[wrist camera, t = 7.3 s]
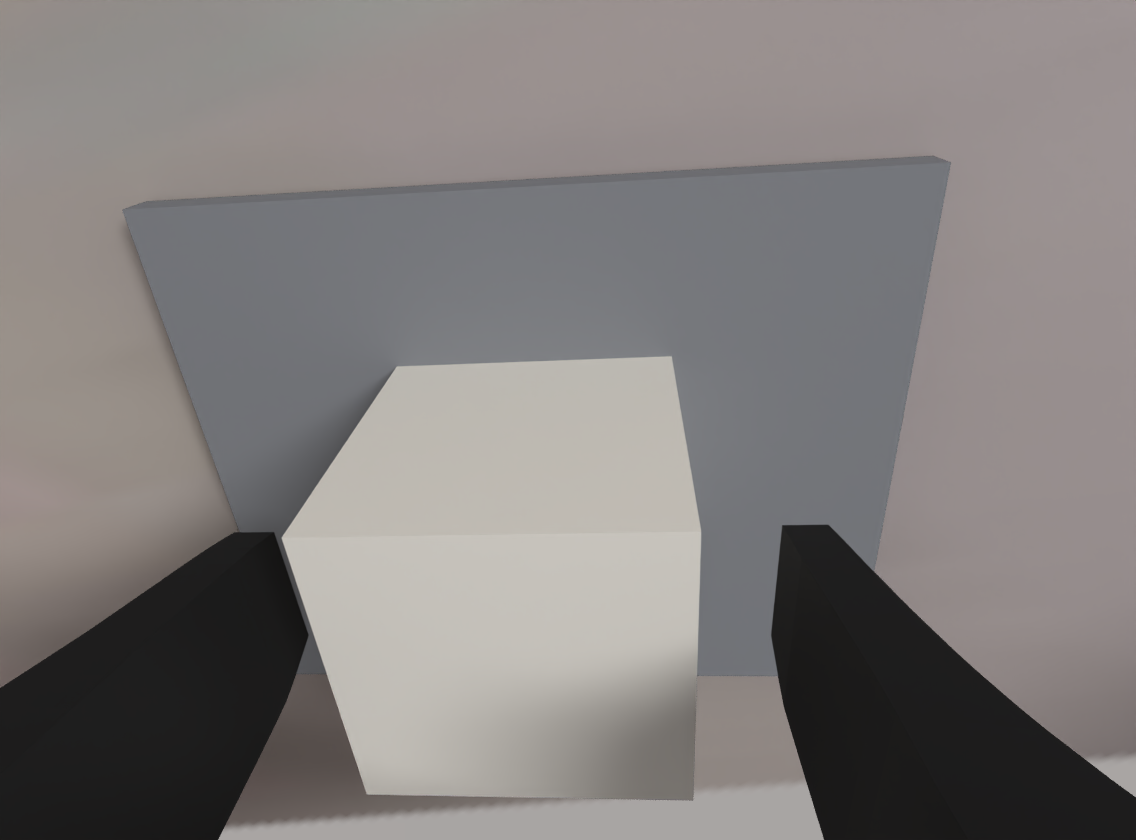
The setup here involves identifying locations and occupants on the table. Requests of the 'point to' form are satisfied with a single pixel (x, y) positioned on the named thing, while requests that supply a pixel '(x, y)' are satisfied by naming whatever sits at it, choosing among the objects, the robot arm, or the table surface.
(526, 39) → the table surface
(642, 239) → the gray mat
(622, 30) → the table surface
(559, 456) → the cream cube
